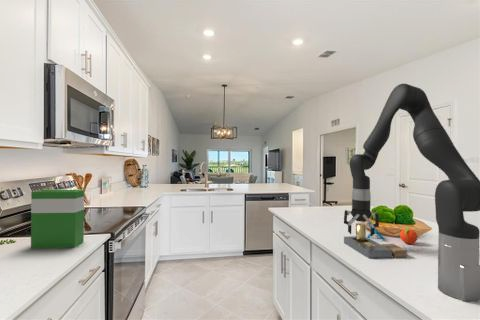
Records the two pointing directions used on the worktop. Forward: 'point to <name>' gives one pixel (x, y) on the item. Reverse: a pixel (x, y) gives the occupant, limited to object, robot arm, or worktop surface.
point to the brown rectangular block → (396, 250)
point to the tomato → (408, 236)
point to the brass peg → (360, 232)
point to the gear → (375, 232)
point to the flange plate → (368, 248)
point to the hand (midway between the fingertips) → (360, 234)
